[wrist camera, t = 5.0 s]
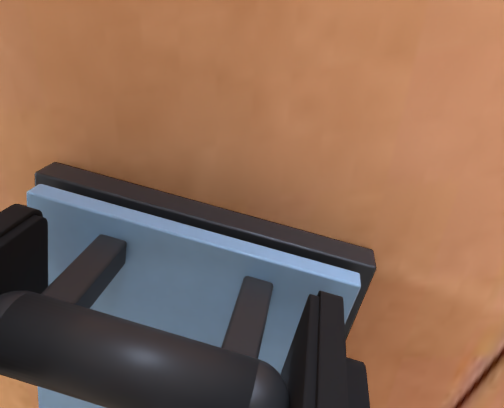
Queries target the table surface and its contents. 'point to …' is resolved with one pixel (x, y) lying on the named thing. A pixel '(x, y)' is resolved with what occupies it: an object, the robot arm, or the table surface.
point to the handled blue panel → (156, 312)
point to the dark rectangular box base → (216, 222)
